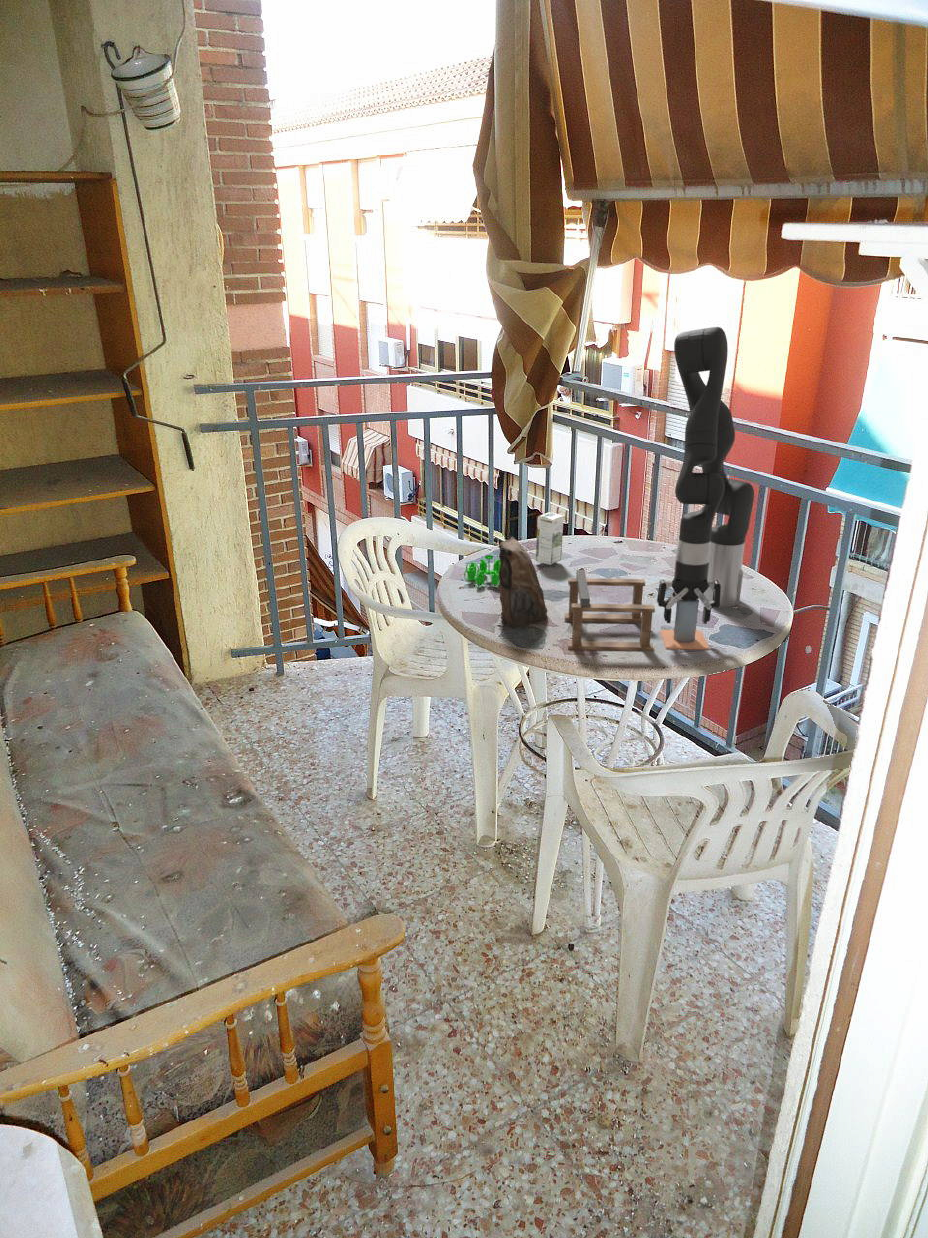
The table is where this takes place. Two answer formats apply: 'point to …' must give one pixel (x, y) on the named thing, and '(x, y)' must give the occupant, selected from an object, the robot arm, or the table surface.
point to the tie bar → (582, 588)
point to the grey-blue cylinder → (686, 620)
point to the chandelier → (483, 571)
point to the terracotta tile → (673, 644)
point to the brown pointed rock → (519, 586)
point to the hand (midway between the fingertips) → (686, 622)
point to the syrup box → (549, 538)
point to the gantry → (610, 616)
